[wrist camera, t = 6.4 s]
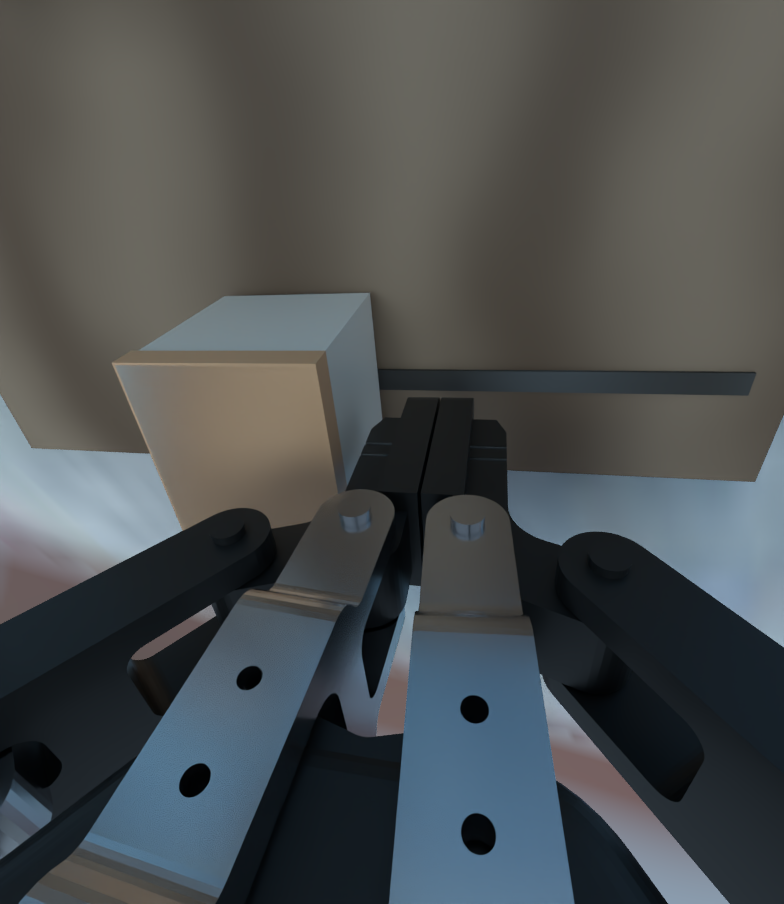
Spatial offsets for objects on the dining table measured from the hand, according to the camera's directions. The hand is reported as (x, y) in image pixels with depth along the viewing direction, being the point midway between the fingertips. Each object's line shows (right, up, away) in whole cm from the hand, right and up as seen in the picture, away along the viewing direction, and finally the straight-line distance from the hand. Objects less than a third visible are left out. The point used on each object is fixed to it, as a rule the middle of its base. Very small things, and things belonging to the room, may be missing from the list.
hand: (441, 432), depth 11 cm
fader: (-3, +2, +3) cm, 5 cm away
